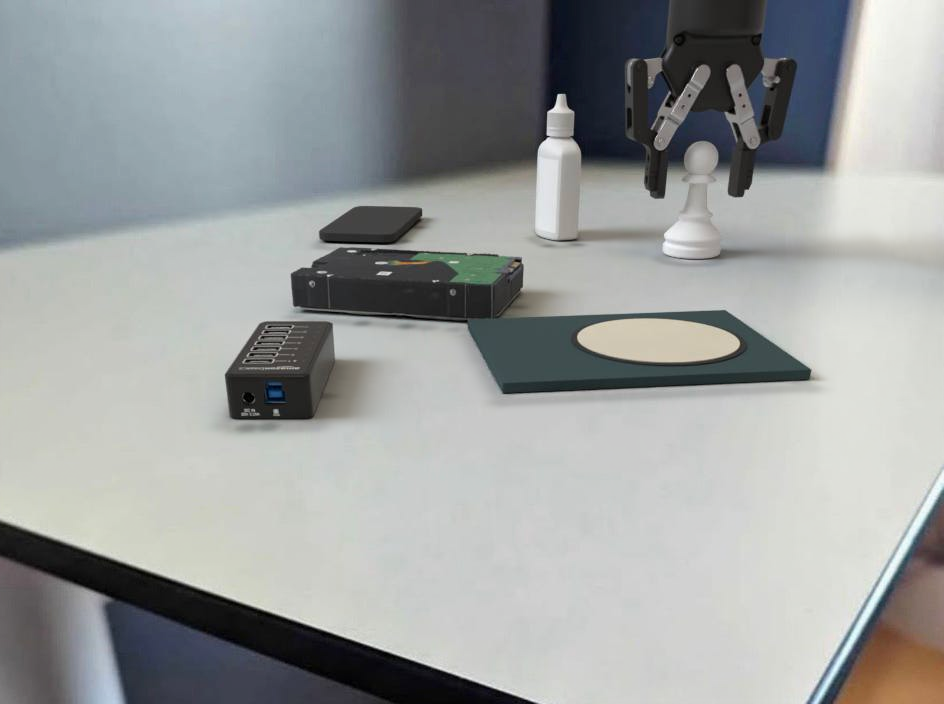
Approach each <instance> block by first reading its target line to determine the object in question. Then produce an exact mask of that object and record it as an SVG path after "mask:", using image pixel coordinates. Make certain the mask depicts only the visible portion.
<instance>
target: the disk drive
mask: <svg viewBox="0 0 944 704" xmlns="http://www.w3.org/2000/svg"><path fill="white" fill-rule="evenodd" d="M522 261H523V257H522V256H511V255H499V254H497V253H496V254H495V253H467V252H455V251H454V252H453V251H451V252H450V251H434V250H433V251H431V250H430V251H429V250H411V249H395V248H394V249H391V248H373V247H371V248H370V247H354V246H352V247H343V246H341V247H337V248H336V249H334V250H332V251H331V252H329V253H327V254H325V255H324V256H321V257H319V258H317V259H315V260H313V261H312V262H311V266H310V267H300V268H298V269H297V270H295V271H292V272H290V284H291V285H290V286H291V287H290V288H291V299H292V305H293V307H294V308H300V309H303V310H309V311H320V312H334V313H344V314H345V313H346V314H352V315H364V316H371V315H372V316H385V315H387V316H388V315H389V316H390V315H391V316H393V315H396V316H406V317H412V318H417V319H430V320H444V321H445V320H446V321H462V322H463V321H464V322H465V321H468V319H491V318H496V317H499V316H500V314H501V313H502V312H503V311H504V310H505V309H506V308H507V307H508V306H509V305H510V303H511V302H512V301H513V300H514V299H515V298H516V297H517V296H518V295H519V294H520V293H521V289H523V287H524V271H525V269H524V266H525V265H524V263H523V262H522Z"/></svg>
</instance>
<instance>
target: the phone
mask: <svg viewBox="0 0 944 704" xmlns="http://www.w3.org/2000/svg"><path fill="white" fill-rule="evenodd" d="M422 217H423V209H422V208H421V207H418V206H389V205H388V206H387V205H385V206H384V205H357V206H353V207H352V208H351V209H349V210H348V211H346V212H345V213H343V214H342V215H340V216H339V217H337V218H335V219H334V220H333V221H332V222H330V223H328V224H327V225H325V226H324V227H322V228H320V229H319V231H318V239H319V240H321V241H325V242H351V243H352V242H353V243H356V242H357V243H393V242H395V241H397V240H398V239H399V238H400V237H401V236H403V234H404V233H405V232H406V231H408V230H409V229H410V228H411V227H412V226H413V225H414V224H415V223H417V222H418V221H419V220H420V219H421V218H422Z"/></svg>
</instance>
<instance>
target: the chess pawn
mask: <svg viewBox="0 0 944 704" xmlns="http://www.w3.org/2000/svg"><path fill="white" fill-rule="evenodd" d="M718 151H719V150H718V149H717V147H716V146H715V145H714V144H713V143H711V142H710V141H706V140H700V141H696V142H693V143H692V144H691V145H690V146H688V148H686V151H685V153H684V157H683V165H684V168H685V169H686V171H687V172H688V173H686V174H684V176H683V177H682V178H681V181H682V182H684V183H688V184H689V185H688V191H687V195H686V201H685V204H684V206H683V209H681V210H680V211H679V212H678V213H677V216H678V221H676V222H675V223H673V225H672V226H671V227H670V228H668V230H666V231H665V232H664V234H663V238H664V240H665V241H663V243H662V252H663V254H664V255H666V256H668V257H673V258H677V259H687V260H688V259H689V260H704V259H712V258H716V257H718V256H719V255H720V254H721V251H722V244H721V243H720V242H721V241H722V239H723V235H722V233H720V231H719V230H718V228H716V226H715V225H714V224H713V223H712V222H711V220H712V218H713V212H711V211H710V210H709V207H708V184H714V183H716V182H717V179H716V177H715V176H714V175H713V174H711V173H712V172H714V171H715V169H716V167H717V166H718V163H719V152H718Z"/></svg>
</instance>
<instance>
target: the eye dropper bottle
mask: <svg viewBox="0 0 944 704" xmlns="http://www.w3.org/2000/svg"><path fill="white" fill-rule="evenodd" d="M567 102H568V101H567V94H566V93H558V94H557V96H556V102H555V104H554V107H553V108H551V109H550V110H548V111H547V115H546V136H548V137H546V139H545V140H543V141H542V142H541V143H540V145H539V147H538V149H537V160H536V187H535V188H536V189H535V191H536V192H535V213H534V214H535V216H534V217H535V219H534V231H535V233H536V235H537V236H539V237H541V238H543V239H546V240H550V241H573V240H576V239H577V237H578V234H579V233H578V232H579V217H580V214H579V213H580V197H581V194H580V193H581V177H582V176H581V175H582V174H581V173H582V152H581V148H580V147H579V144H578V143H577V141H575V140H574V138H573V137H574V133H575V132H574V128H575V111H574V110H573V109H570V107H568V103H567Z"/></svg>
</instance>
